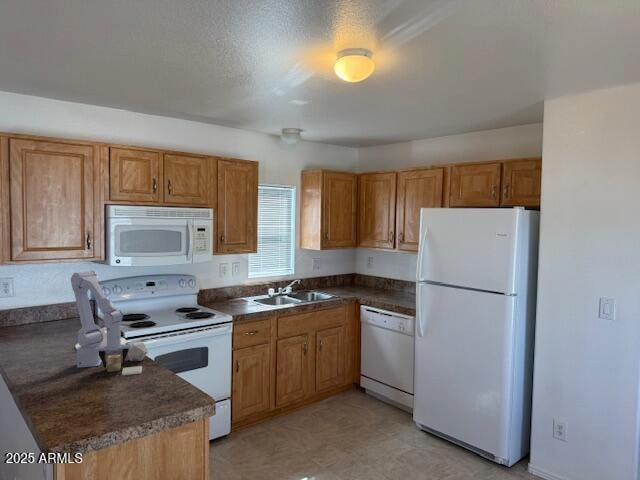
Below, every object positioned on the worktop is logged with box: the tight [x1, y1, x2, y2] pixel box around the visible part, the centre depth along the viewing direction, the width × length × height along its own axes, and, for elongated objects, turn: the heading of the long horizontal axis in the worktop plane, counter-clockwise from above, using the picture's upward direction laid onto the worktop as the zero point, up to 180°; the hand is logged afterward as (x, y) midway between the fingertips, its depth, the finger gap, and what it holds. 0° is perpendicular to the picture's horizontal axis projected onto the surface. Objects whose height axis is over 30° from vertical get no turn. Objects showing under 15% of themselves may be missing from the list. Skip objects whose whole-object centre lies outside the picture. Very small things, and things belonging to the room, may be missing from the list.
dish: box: [74, 326, 127, 351], centre depth 243 cm, size 25×25×11 cm
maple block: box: [106, 354, 122, 372], centre depth 204 cm, size 5×5×6 cm
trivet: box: [121, 365, 143, 376], centre depth 201 cm, size 8×8×1 cm
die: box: [127, 342, 149, 362], centre depth 217 cm, size 8×9×10 cm
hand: (114, 366), depth 204 cm, fingers open, 7 cm apart
